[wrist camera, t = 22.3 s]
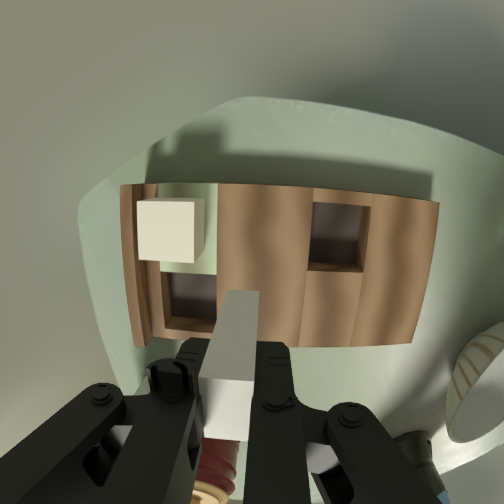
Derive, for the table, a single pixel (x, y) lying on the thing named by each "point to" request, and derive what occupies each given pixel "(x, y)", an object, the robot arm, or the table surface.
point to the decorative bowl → (477, 387)
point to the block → (170, 229)
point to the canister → (215, 471)
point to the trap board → (287, 264)
